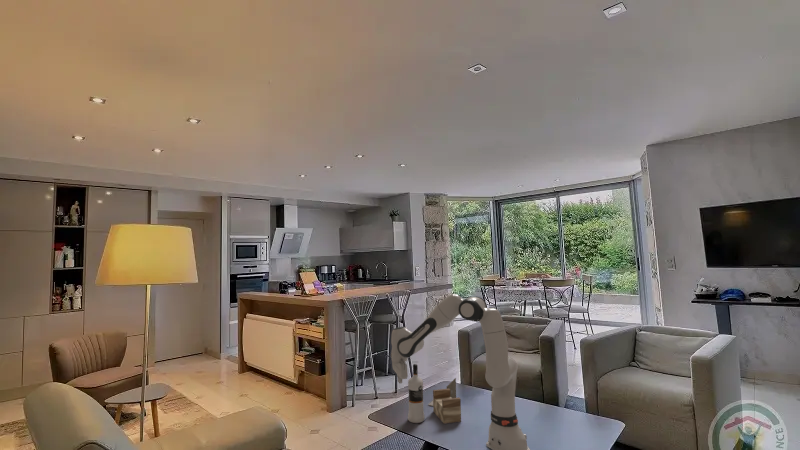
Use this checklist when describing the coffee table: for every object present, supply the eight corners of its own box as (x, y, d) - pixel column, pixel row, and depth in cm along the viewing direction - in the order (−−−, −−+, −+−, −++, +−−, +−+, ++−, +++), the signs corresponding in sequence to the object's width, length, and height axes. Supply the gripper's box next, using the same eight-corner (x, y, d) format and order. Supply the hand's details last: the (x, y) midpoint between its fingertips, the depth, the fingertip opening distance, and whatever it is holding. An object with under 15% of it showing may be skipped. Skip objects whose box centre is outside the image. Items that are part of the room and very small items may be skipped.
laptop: (437, 396, 246) (437, 375, 248) (456, 398, 241) (456, 377, 242) (427, 406, 230) (427, 383, 231) (447, 409, 225) (447, 386, 226)
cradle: (461, 421, 208) (460, 398, 209) (443, 423, 205) (443, 400, 206) (449, 409, 224) (449, 388, 225) (433, 411, 222) (432, 390, 223)
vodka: (418, 415, 216) (417, 361, 219) (428, 421, 209) (426, 364, 211) (404, 419, 211) (403, 363, 214) (414, 425, 204) (413, 367, 206)
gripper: (410, 361, 201) (410, 388, 200) (400, 352, 221) (400, 376, 220) (398, 362, 200) (399, 389, 199) (389, 352, 220) (390, 377, 218)
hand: (400, 382), depth 210 cm, fingers closed
